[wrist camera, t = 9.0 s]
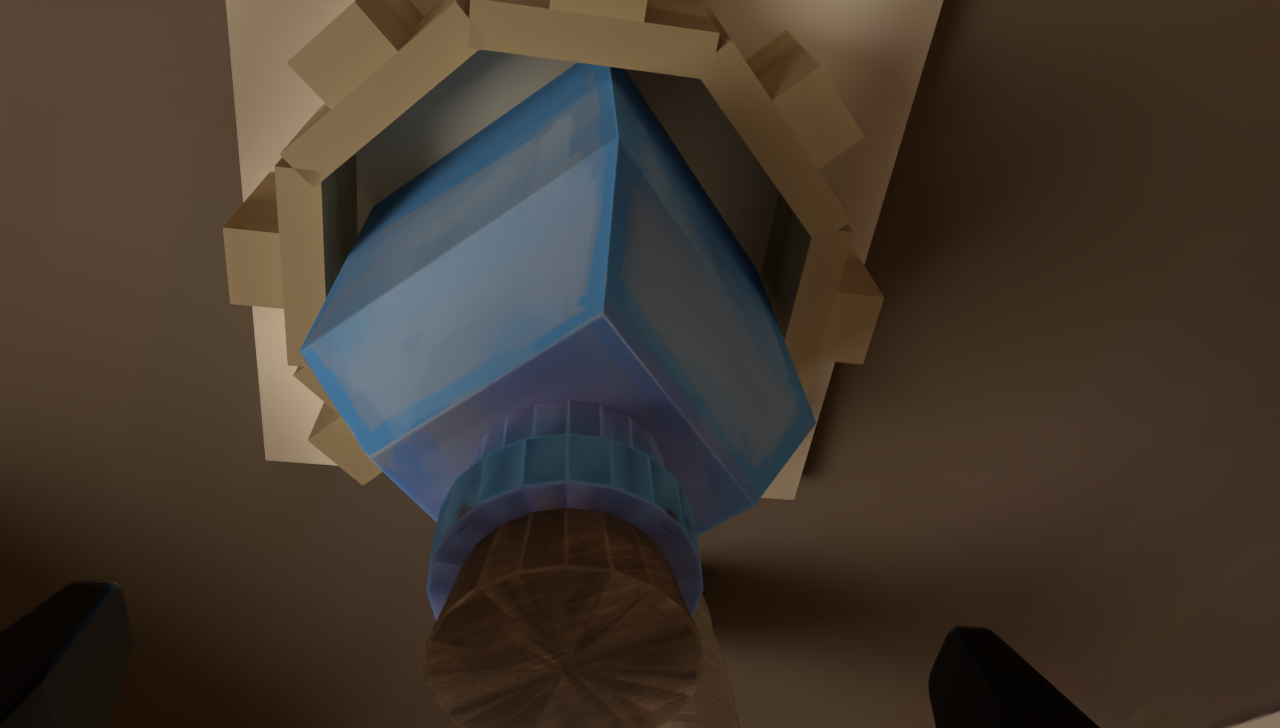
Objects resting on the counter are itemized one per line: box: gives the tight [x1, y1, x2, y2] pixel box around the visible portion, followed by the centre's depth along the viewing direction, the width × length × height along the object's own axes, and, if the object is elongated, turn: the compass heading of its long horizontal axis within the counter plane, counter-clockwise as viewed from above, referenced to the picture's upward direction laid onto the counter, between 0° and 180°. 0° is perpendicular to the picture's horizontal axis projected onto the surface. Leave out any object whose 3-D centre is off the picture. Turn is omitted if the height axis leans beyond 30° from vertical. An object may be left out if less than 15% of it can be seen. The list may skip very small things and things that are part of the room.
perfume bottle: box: [299, 62, 816, 728], centre depth 15 cm, size 6×6×12 cm
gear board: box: [223, 0, 943, 500], centre depth 20 cm, size 14×14×4 cm
